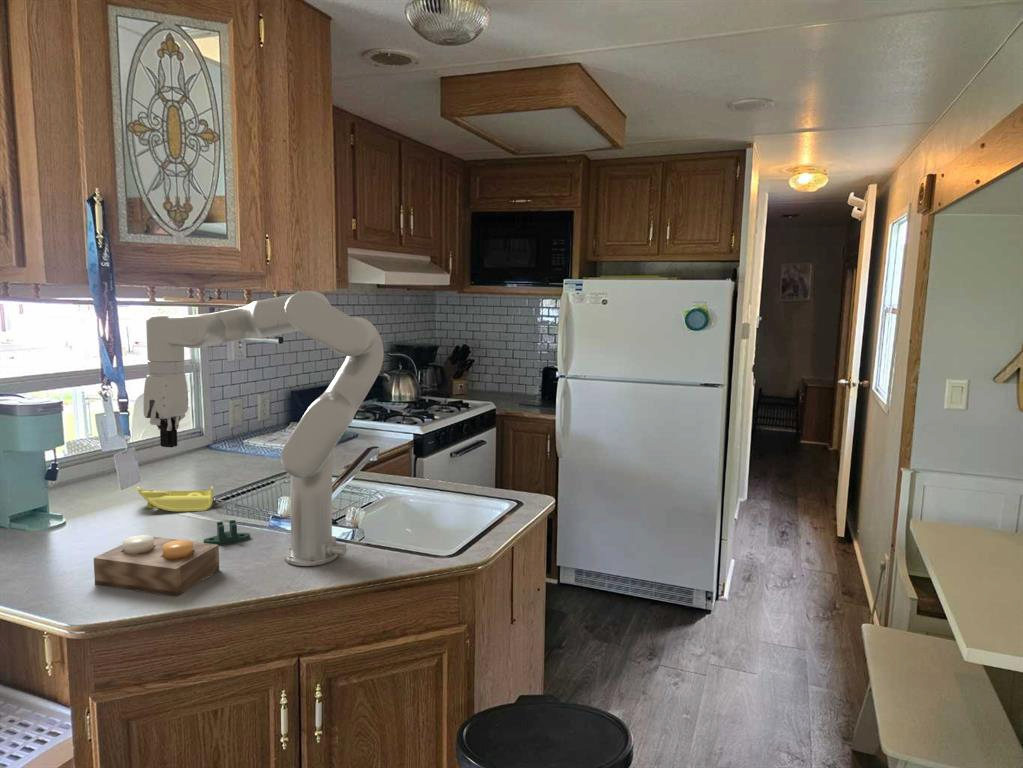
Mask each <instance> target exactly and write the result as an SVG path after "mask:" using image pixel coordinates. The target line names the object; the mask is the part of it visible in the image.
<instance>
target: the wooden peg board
mask: <svg viewBox="0 0 1023 768" xmlns="http://www.w3.org/2000/svg"><path fill="white" fill-rule="evenodd" d="M152 537H153V539H154V548H153V549H151V550H149V551H147V552H143V553H141V554H127V553H124V552H123V544H121V545H118V546H116V547H114V548H112V549H110V550H108V551H106V552H104V553H103V552H102V553H101V554H99V555H97V556H95V557H93V570H94V571H93V573H94V574H93V575H94V576H93V577H94V585H95V586H102V587H108V588H115V589H124V590H131V591H136V592H144V593H151V594H157V595H165V596H171V597H178V596H180V595H181V594H183V593H185V592H186V591H188V590H190V589H191V588H193V587H194V586H196V585H198V584H199V583H200V581H201V582H202V581H204V580H205V579H207V578H208V576H209V577H210V576H211V574H212V575H213V574H215V573H217V572H218V571H219V570H220V552H219V551H220V548H219V546H220V545H217V544H209V543H204V542H200V541H192V542H193V554H191V555H190V556H187V557H184V558H182V559H166V558H164V557H163V551H162V546H163V545H164V544H166V543H168V542H171V541H176V540H177V539H176V538H168V537H167V538H166V537H160V536H158V537H157V536H152ZM216 571H217V572H216ZM206 577H207V578H206ZM203 579H204V580H203ZM198 582H199V583H198ZM197 583H198V584H197ZM195 584H196V585H195ZM192 586H193V587H192ZM189 588H190V589H189Z"/></svg>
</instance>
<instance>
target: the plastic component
mask: <svg viewBox="0 0 1023 768" xmlns="http://www.w3.org/2000/svg"><path fill="white" fill-rule="evenodd" d="M136 489H137V492H138V494H139V495H140V496H142V498H143V499H144V500H145V501H146V502H147V503H146V507H147V509H160V510H163V511H169V512H177V513H178V512H204V511H208V510H209V509H210V508H211V507H212V505H213V499H214V498H213V496H214V486H212V485H211V486H210V489H207V490H154V489H153V490H151V489H150V490H145V489H141V487H140V486H136Z"/></svg>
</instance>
